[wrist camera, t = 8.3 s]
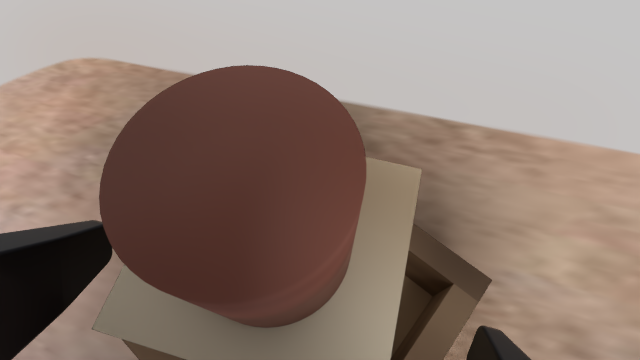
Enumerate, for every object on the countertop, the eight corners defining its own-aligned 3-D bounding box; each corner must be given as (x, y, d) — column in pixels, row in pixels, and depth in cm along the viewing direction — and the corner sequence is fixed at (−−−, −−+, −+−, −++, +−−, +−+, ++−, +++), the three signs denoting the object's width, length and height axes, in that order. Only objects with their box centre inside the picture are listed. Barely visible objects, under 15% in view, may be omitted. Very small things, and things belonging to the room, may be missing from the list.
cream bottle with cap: (348, 383, 14) (429, 480, 3) (231, 347, 15) (-91, 305, 3) (371, 273, 16) (475, 60, 5) (266, 246, 17) (132, 0, 5)
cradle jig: (318, 510, 13) (315, 565, 10) (151, 326, 16) (102, 316, 13) (457, 297, 17) (492, 280, 13) (296, 175, 20) (289, 135, 16)
